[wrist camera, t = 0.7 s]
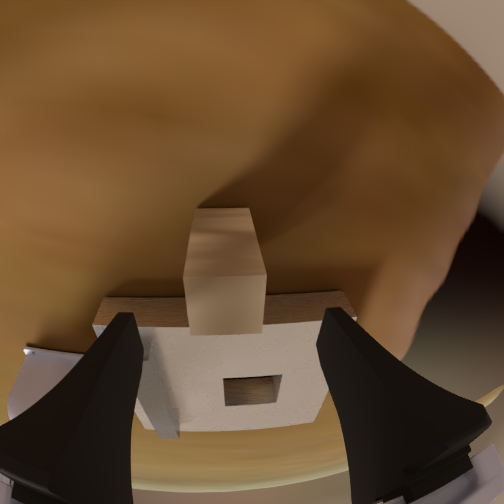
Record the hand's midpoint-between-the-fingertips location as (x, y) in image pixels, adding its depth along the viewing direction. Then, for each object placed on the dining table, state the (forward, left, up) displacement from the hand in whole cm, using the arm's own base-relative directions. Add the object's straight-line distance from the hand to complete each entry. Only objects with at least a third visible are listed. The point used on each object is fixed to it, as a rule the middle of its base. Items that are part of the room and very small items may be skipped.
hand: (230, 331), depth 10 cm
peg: (0, 0, -8) cm, 8 cm away
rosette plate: (0, -13, -8) cm, 16 cm away
